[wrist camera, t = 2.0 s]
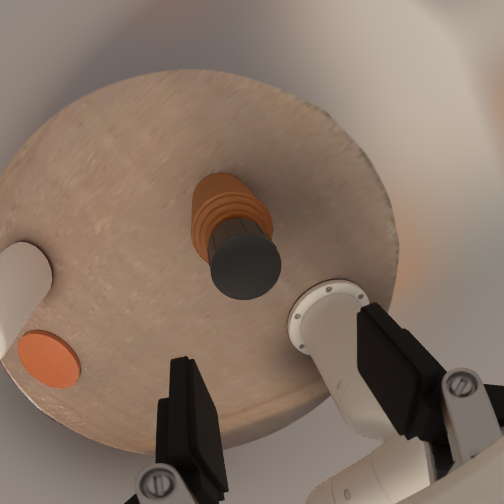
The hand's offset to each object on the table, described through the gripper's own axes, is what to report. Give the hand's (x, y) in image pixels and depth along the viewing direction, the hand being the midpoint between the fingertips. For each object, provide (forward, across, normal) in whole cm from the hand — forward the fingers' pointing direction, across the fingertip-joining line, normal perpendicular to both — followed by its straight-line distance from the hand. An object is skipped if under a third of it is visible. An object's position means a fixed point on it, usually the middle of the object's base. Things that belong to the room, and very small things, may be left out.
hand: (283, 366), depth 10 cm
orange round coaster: (+27, +32, +16) cm, 45 cm away
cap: (+12, 0, 0) cm, 12 cm away
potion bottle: (+28, +27, +2) cm, 39 cm away
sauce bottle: (+27, 0, 0) cm, 27 cm away
